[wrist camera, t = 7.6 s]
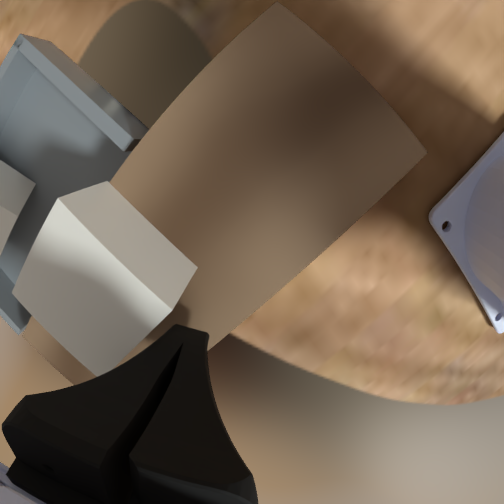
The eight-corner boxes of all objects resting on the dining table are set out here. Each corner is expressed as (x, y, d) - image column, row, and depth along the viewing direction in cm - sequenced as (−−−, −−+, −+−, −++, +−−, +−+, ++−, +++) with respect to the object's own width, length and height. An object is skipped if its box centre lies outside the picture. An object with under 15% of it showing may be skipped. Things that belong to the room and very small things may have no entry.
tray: (158, 137, 13) (134, 139, 10) (41, 314, 17) (18, 335, 14) (50, 41, 11) (19, 33, 9) (-34, 223, 15) (-60, 235, 13)
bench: (397, 147, 12) (427, 152, 9) (136, 385, 18) (119, 420, 15) (277, 28, 11) (277, 0, 8) (50, 310, 16) (22, 336, 14)
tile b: (197, 267, 11) (172, 310, 9) (131, 335, 13) (101, 380, 10) (107, 180, 10) (57, 197, 8) (55, 262, 12) (11, 293, 9)
